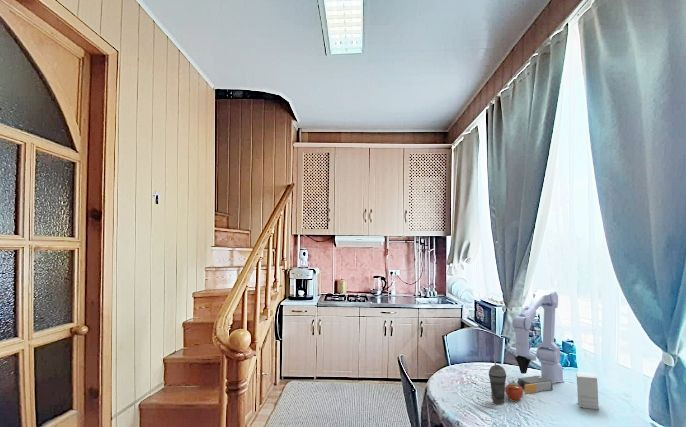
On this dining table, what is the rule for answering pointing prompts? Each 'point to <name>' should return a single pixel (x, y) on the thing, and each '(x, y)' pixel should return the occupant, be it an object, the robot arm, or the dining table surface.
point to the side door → (538, 387)
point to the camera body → (531, 380)
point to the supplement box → (587, 390)
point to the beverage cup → (497, 383)
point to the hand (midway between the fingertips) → (523, 373)
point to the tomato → (514, 391)
